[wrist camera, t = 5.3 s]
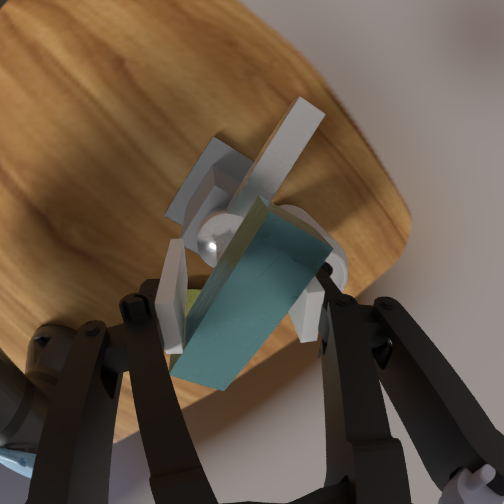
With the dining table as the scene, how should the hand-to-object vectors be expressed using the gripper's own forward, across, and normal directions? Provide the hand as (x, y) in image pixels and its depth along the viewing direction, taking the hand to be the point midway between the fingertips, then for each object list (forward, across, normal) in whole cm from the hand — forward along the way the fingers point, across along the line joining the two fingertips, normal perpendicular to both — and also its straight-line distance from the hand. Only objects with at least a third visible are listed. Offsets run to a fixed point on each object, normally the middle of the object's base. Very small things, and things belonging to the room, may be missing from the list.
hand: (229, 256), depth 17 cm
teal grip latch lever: (+4, -2, -3) cm, 5 cm away
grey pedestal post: (+16, 0, 0) cm, 16 cm away
